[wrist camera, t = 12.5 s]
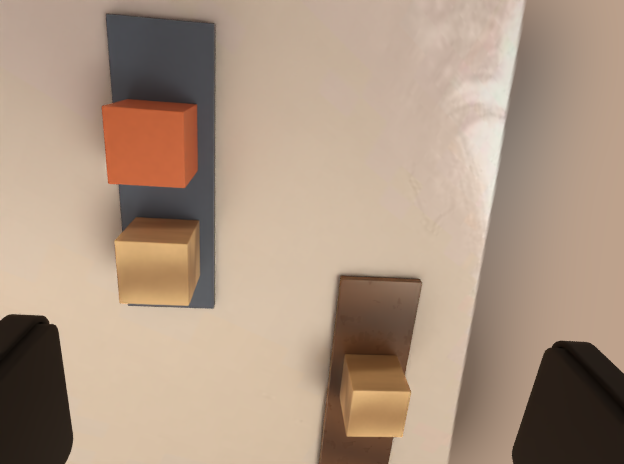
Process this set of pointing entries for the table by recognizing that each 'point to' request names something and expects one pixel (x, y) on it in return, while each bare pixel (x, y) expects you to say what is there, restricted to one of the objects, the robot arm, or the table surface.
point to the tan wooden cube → (158, 261)
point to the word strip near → (178, 89)
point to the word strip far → (366, 341)
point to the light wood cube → (374, 396)
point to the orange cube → (150, 143)
